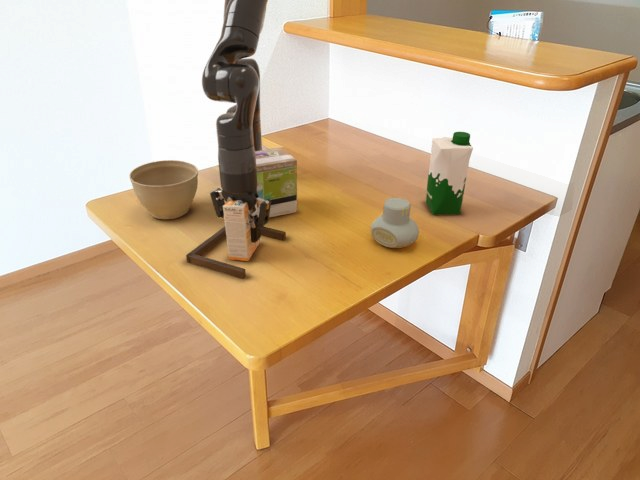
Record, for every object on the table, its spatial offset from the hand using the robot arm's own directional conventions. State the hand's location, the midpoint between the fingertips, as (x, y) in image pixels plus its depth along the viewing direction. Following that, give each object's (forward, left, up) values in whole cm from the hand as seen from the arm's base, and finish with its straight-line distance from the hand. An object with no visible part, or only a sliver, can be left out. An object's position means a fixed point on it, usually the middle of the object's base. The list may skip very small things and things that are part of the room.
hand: (243, 237), depth 112 cm
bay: (-1, 0, -4) cm, 4 cm away
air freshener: (+28, +19, -4) cm, 34 cm away
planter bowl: (-28, +8, -4) cm, 29 cm away
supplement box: (0, 0, -4) cm, 4 cm away
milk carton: (+34, +41, -4) cm, 54 cm away
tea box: (-7, +19, -4) cm, 20 cm away
